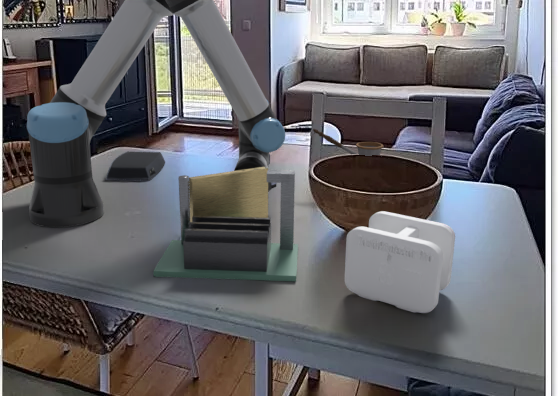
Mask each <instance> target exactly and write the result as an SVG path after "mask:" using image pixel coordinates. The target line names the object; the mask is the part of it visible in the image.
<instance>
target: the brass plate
mask: <svg viewBox="0 0 558 396" xmlns="http://www.w3.org/2000/svg"><path fill="white" fill-rule="evenodd" d="M268 169H269V167H268V168H266V167H259V168H252V169H245V170H238V171H234V170H231V171H225V172H218V173H211V174H205V175H204V174H202V175H197V176H191V177H189V202H190V222H192V216H225V217H259V218H269V192H268V182H267V171H268Z"/></svg>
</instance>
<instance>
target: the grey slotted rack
mask: <svg viewBox="0 0 558 396" xmlns="http://www.w3.org/2000/svg"><path fill="white" fill-rule="evenodd" d="M295 171H296V170H290V169H275V168H273V169H271V168H268V171H267V182H272V183H276V184H277V183H279V184H280V212H279V213H280V216H279V218H280V219H279V223H280V224H279V225H280V227H279V243H280V250H293V244H294V239H295V238H294V236H295V235H294V234H295V233H294V231H295V230H294V229H295V227H294V226H295V189H296V188H295V187H296V186H295V185H296V172H295ZM178 196H179V197H178V199H179V220H180V222H179V223H180V240H181V244H182V245H183V250H184V269H194V270H223V271H253V272H267V268H268V262H269V256H270V251H271V243H272V221H271V220H272V219H271V217H268V218H259V217H225V216H192V222H190V200H189V175H178Z"/></svg>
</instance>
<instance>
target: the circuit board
mask: <svg viewBox="0 0 558 396" xmlns="http://www.w3.org/2000/svg"><path fill="white" fill-rule="evenodd" d="M298 255H299V243H293V250H280V242H279V243H278V242H277V243H276V242H271V251H270V256H269V262H268V268H267V272H253V271H223V270H194V269H184V250H183V245H182V244H181V239H172V240H171V241H170V243H169V245H168V246H167V248H166V249H165V251H164V253H163V254H162V256H161V257H160V259H159V261H158V263H157V264H156V266H155V268H154V270H153V277H157V278H159V277H160V278H162V277H163V278H184V279H185V278H186V279H187V278H188V279H189V278H190V279H214V280H215V279H217V280H218V279H219V280H244V281H245V280H247V281H248V280H249V281H269V282H270V281H272V282H273V281H274V282H297V277H298V276H297V273H298V258H299V257H298Z"/></svg>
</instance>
